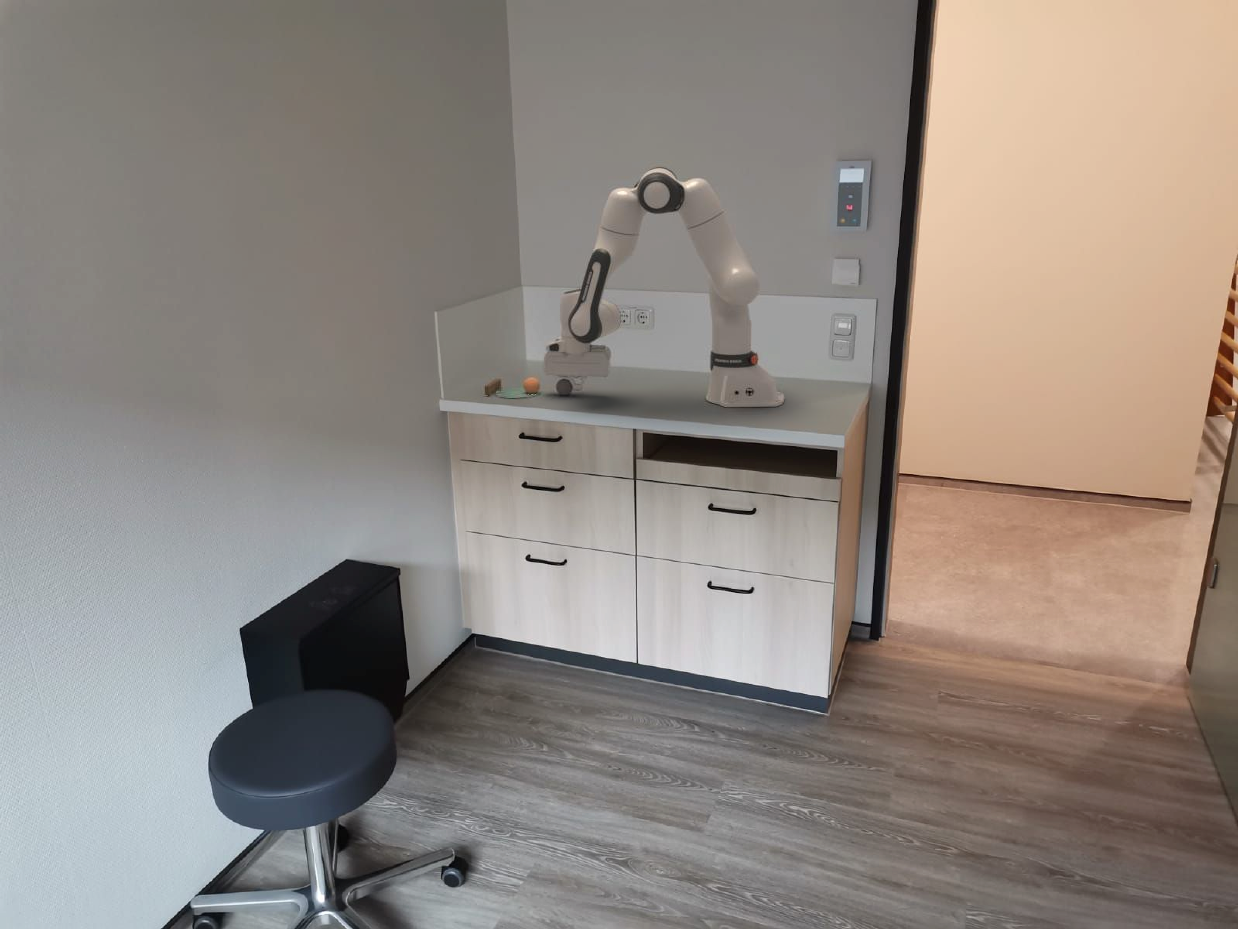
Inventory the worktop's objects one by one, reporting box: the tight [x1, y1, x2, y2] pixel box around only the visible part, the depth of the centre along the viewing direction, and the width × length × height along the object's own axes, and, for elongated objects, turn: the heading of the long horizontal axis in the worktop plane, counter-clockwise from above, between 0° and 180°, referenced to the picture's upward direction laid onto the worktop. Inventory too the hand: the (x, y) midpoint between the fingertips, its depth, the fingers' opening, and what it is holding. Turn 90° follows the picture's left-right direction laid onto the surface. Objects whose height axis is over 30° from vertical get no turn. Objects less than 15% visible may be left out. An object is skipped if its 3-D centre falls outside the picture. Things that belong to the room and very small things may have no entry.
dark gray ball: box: [555, 378, 573, 396], centre depth 275 cm, size 5×5×5 cm
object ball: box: [522, 376, 541, 394], centre depth 277 cm, size 5×5×5 cm
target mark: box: [494, 386, 542, 399], centre depth 279 cm, size 14×14×1 cm
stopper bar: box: [484, 378, 502, 397], centre depth 280 cm, size 2×10×3 cm, turn 167°
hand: (577, 390), depth 274 cm, fingers closed
